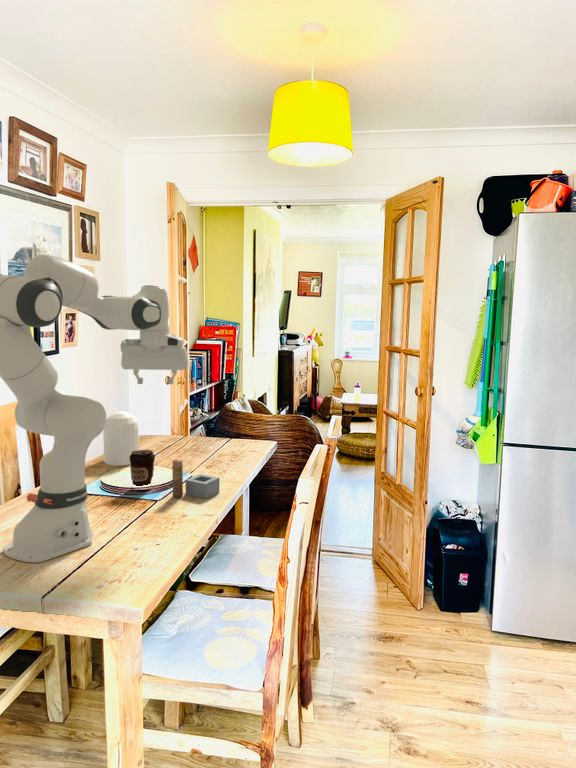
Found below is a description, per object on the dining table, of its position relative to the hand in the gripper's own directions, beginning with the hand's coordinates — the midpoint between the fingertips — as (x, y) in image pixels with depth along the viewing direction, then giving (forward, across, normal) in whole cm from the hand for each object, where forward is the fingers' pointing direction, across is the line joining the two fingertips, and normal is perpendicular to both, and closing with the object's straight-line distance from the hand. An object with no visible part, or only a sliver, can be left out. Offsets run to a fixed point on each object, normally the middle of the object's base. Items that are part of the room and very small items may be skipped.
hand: (155, 383), depth 181 cm
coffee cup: (+38, -7, +12) cm, 41 cm away
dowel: (+38, +6, +4) cm, 39 cm away
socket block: (+38, +14, +8) cm, 41 cm away
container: (+39, -22, +46) cm, 64 cm away
